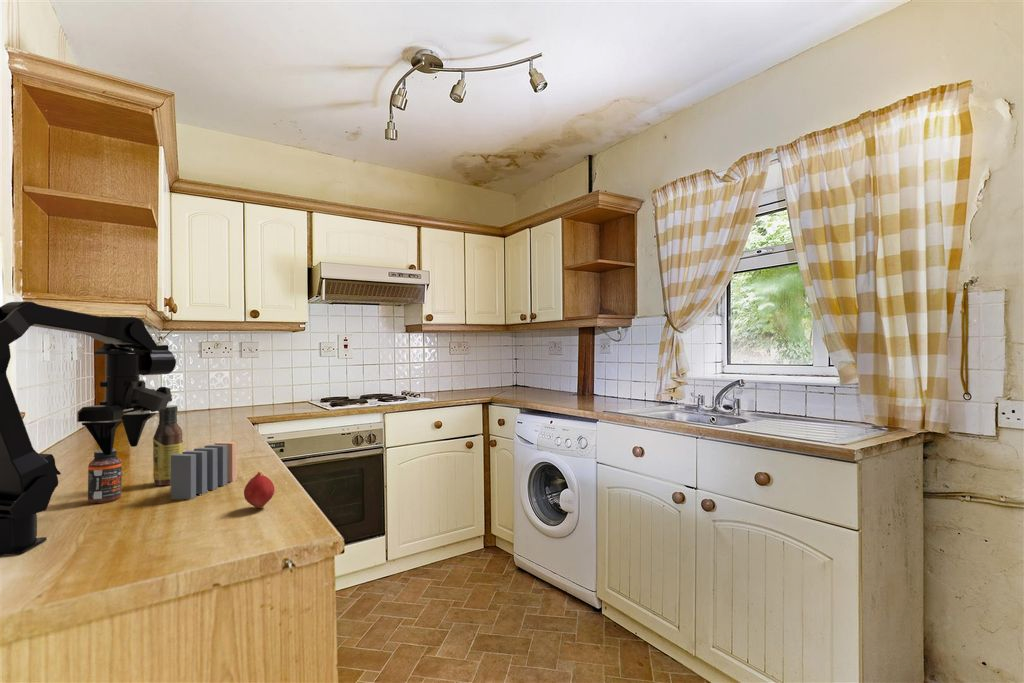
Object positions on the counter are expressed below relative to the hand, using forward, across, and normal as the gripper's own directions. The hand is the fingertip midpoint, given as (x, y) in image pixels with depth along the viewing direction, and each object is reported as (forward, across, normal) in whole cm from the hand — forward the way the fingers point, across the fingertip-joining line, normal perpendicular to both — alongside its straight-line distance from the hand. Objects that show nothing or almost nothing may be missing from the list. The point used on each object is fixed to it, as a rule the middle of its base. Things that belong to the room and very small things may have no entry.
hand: (121, 450), depth 104 cm
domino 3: (+13, +15, -10) cm, 22 cm away
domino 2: (+13, +12, -10) cm, 20 cm away
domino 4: (+13, +18, -12) cm, 25 cm away
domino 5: (+13, +22, -13) cm, 28 cm away
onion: (+13, -3, -28) cm, 31 cm away
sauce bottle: (+13, +23, +1) cm, 26 cm away
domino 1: (+13, +8, -8) cm, 18 cm away
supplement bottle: (+13, +10, +9) cm, 19 cm away
